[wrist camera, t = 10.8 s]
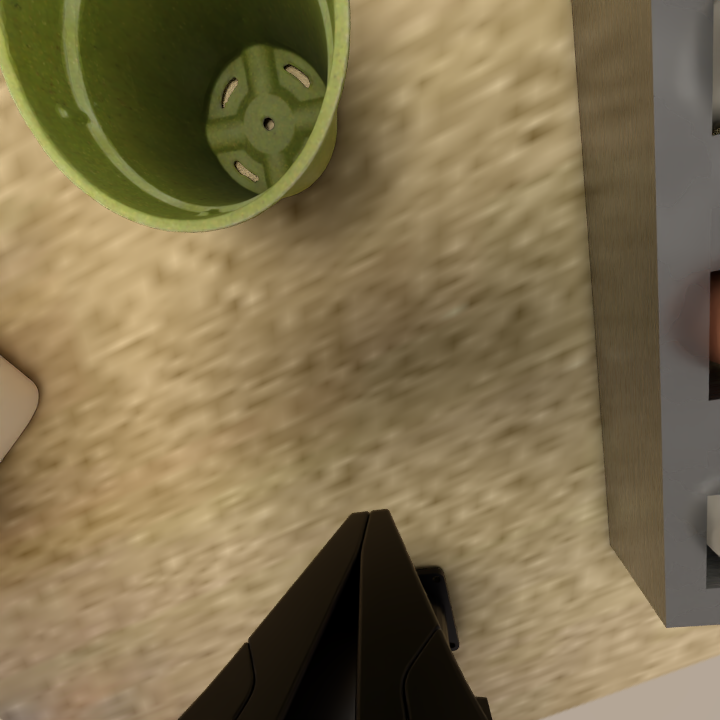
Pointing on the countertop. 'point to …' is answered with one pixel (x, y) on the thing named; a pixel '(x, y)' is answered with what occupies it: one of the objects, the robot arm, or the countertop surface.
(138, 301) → the countertop surface
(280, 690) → the robot arm
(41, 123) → the plant pot
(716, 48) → the ivory plug near
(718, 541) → the ivory plug far
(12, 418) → the white plastic jug
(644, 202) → the socket block
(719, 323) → the rust plug
